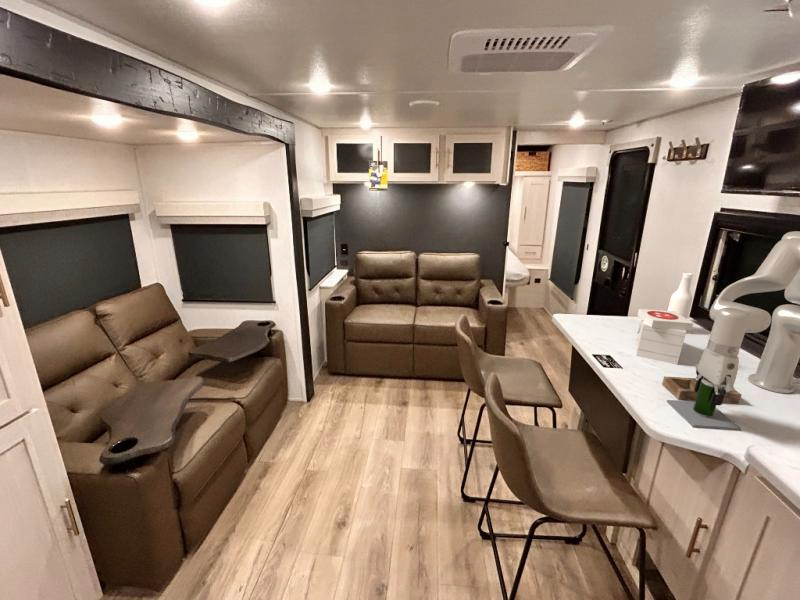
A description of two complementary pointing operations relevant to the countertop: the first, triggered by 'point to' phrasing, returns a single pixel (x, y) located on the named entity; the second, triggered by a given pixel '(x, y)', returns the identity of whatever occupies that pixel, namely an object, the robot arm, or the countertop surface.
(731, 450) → the countertop surface
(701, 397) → the beer can
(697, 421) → the rubber mat
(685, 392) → the can holder
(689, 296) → the alcohol
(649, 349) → the pizza boxes
